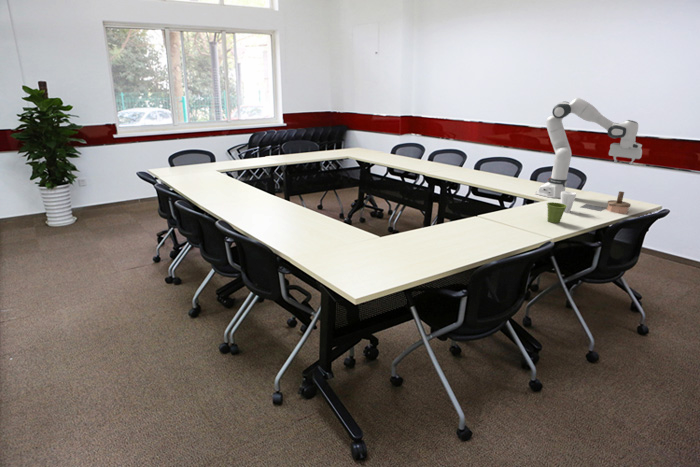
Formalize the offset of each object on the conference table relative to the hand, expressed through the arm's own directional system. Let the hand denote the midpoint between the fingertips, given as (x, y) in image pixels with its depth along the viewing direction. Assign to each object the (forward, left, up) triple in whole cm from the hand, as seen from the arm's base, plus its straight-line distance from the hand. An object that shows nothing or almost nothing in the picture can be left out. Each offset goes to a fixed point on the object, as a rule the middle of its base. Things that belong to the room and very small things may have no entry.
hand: (622, 163), depth 317 cm
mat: (-8, -20, -31) cm, 38 cm away
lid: (+7, -16, -26) cm, 31 cm away
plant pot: (-13, -78, -31) cm, 85 cm away
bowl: (+7, -16, -31) cm, 36 cm away
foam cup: (-18, -45, -31) cm, 58 cm away
